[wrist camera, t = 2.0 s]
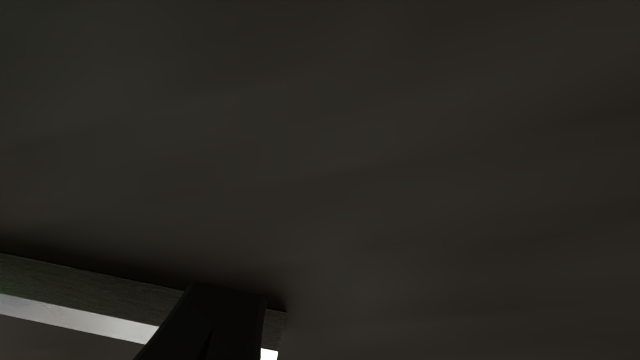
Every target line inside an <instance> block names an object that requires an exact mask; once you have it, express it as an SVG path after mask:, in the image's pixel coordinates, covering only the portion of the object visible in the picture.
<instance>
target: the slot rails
mask: <svg viewBox="0 0 640 360" xmlns="http://www.w3.org/2000/svg"><path fill="white" fill-rule="evenodd" d="M183 293H184V291H181V290H176V289H172V288H167V287H162V286H157V285H153V284H148V283H143V282H138V281H134V280H129V279H124V278H119V277H115V276H110V275H105V274H100V273H96V272H91V271H86V270H81V269H77V268H72V267H67V266H62V265H58V264H53V263H48V262H43V261H39V260H34V259H29V258H24V257H20V256H15V255H10V254H5V253H0V314H4V315H9V316H13V317H18V318H23V319H28V320H32V321H37V322H42V323H47V324H51V325H56V326H61V327H66V328H70V329H75V330H80V331H85V332H89V333H94V334H99V335H104V336H108V337H113V338H118V339H123V340H128V341H132V342H137V343H142V344H146V343H147V342H148V341H149V340H150V338H151V337H152V336H153V334H154V333H155V332H156V331H157V329H158V328H159V327H160V325H161V324H162V323H163V321H164V320H165V319H166V317H167V316H168V315H169V313H170V312H171V310H172V309H173V308H174V306H175V305H176V303H177V302H178V300H179V299H180V297H181V296H182V294H183ZM285 318H286V312H281V311H276V310H272V309H267V308H266V314H265V320H264V326H263V331H262V341H261V360H277V356H278V351H279V347H280V342H281V337H282V333H283V328H284V323H285Z"/></svg>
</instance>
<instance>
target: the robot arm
mask: <svg viewBox="0 0 640 360" xmlns="http://www.w3.org/2000/svg"><path fill="white" fill-rule="evenodd" d="M267 302H268V301H267V300H266V299H265V298H264V297H263V296H261V295H257V294H252V293H247V292H242V291H238V290H233V289H228V288H224V287H219V286H214V285H209V284H205V283H200V282H193V283H191V284H189V285H188V286H187V288H186V290H185V291H184V293H183V294H182V296H181V297H180V299H179V300H178V302H177V303H176V305H175V306H174V308H173V309H172V310H171V312H170V313H169V315H168V316H167V317H166V319H165V320H164V321H163V323H162V324H161V325H160V327H159V328H158V329H157V331H156V332H155V333H154V334H153V336H152V337H151V338H150V340H149V341H148V342H147V343H146V345H145V346H144V347H143V348H142V350H141V351H140V352H139V353H138V354H137V355H136V357H135V358H134V359H133V360H261V341H262V331H263V326H264V320H265V314H266V308H267Z"/></svg>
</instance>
